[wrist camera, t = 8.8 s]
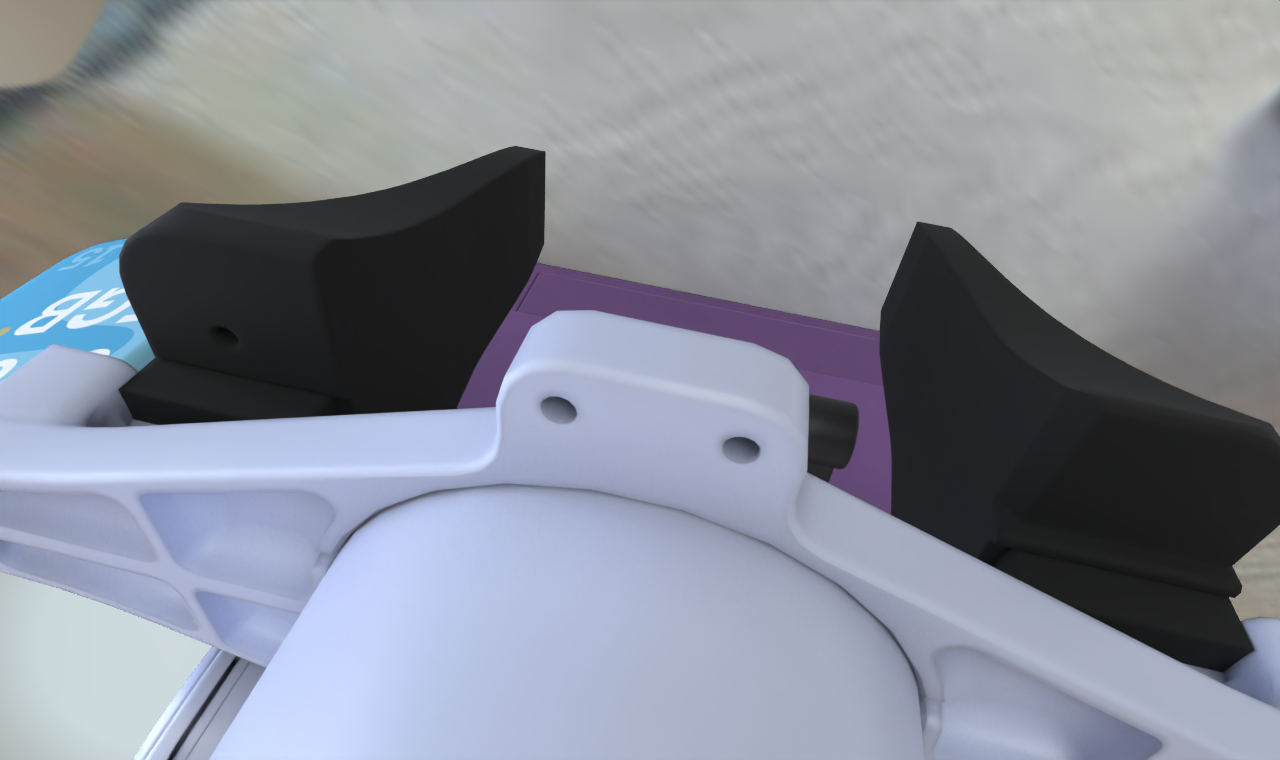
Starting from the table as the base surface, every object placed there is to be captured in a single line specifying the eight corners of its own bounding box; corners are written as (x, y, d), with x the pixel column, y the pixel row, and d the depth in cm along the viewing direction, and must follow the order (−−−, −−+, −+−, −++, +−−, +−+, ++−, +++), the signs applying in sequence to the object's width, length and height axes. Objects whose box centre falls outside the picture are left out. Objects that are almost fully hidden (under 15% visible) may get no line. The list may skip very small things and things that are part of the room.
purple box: (872, 492, 30) (876, 552, 28) (529, 418, 31) (505, 468, 29) (947, 343, 25) (959, 402, 22) (528, 260, 26) (498, 307, 24)
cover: (1030, 660, 15) (1139, 517, 13) (361, 503, 16) (336, 344, 14) (957, 415, 22) (1017, 292, 20) (495, 319, 24) (495, 193, 21)
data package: (311, 203, 26) (44, 426, 17) (369, 304, 29) (164, 541, 20) (84, 243, 30) (-231, 443, 21) (154, 329, 33) (-99, 539, 24)
